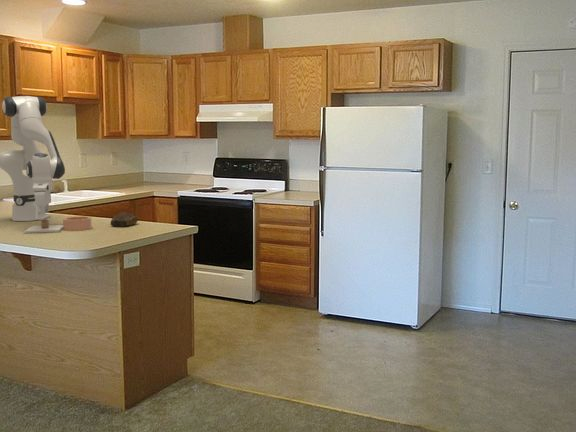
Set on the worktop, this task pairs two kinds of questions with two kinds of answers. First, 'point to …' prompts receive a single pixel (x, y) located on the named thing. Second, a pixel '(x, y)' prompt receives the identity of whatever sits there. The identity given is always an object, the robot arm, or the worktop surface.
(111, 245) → the worktop surface
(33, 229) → the white square lid
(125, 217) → the stone
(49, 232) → the mat
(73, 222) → the bowl
